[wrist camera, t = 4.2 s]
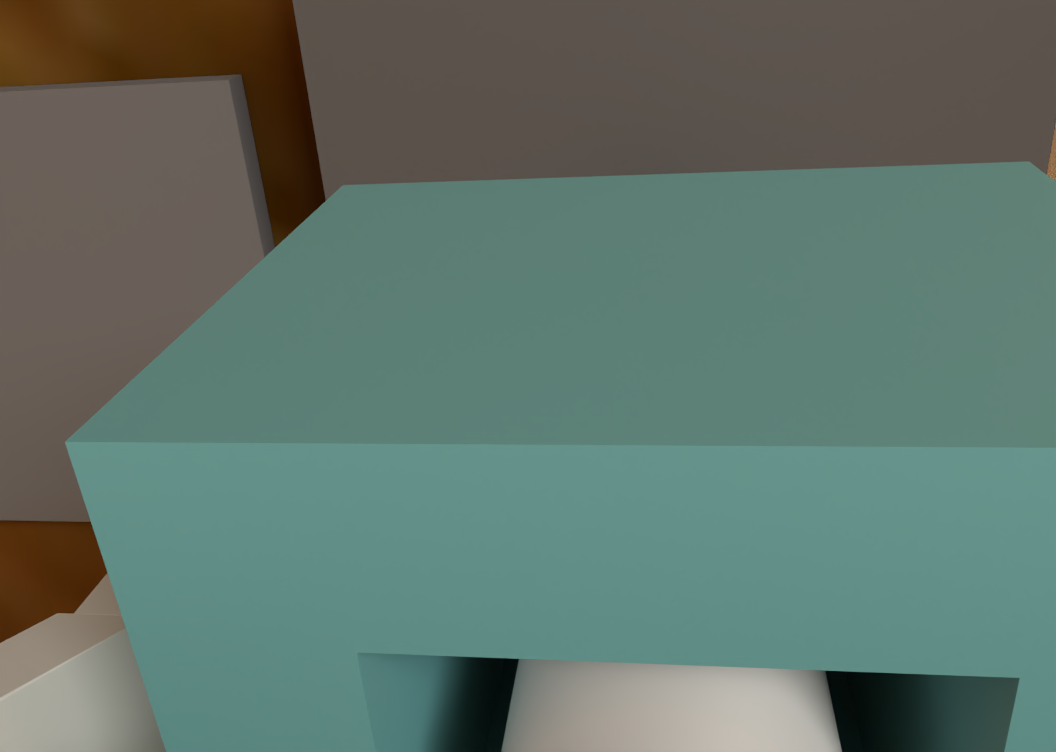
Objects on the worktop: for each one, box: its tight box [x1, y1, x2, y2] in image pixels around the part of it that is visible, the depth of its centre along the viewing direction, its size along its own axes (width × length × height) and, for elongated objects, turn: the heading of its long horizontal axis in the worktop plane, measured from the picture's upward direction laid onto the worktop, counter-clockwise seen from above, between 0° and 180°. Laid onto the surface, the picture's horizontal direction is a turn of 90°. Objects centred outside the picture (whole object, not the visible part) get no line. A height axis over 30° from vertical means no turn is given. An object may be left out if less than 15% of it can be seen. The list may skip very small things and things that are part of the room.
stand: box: [292, 0, 1056, 752], centre depth 12 cm, size 14×12×14 cm
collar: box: [65, 162, 1056, 752], centre depth 8 cm, size 6×6×5 cm
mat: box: [0, 74, 275, 522], centre depth 21 cm, size 10×10×1 cm
